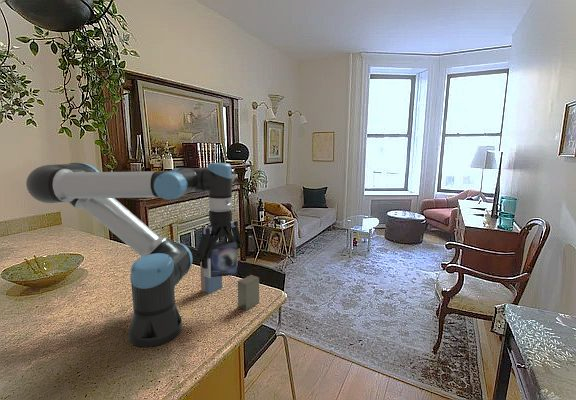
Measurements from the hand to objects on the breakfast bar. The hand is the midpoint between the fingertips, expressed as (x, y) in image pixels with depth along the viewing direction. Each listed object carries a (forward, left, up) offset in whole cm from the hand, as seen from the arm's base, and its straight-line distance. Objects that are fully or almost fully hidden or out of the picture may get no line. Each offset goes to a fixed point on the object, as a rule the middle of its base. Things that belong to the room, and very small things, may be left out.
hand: (221, 270), depth 102 cm
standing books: (+8, +15, -15) cm, 22 cm away
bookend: (+8, -5, -15) cm, 18 cm away
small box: (0, 0, -1) cm, 1 cm away
